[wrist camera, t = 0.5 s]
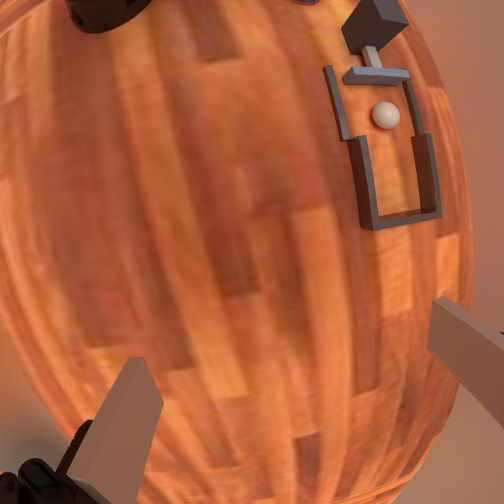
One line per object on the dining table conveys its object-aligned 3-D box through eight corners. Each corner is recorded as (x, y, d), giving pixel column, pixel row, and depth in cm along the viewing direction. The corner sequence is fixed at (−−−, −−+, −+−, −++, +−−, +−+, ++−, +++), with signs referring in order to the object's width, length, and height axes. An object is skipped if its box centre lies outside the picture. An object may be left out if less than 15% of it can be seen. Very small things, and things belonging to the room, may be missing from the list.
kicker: (326, 27, 30) (349, -13, 19) (377, 31, 30) (409, -1, 19) (344, 84, 32) (378, 53, 21) (396, 85, 32) (438, 62, 21)
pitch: (322, 68, 32) (331, 57, 28) (403, 71, 32) (416, 63, 28) (354, 227, 37) (366, 232, 33) (430, 213, 37) (446, 216, 33)
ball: (364, 105, 33) (376, 98, 29) (387, 105, 33) (401, 98, 29) (370, 131, 34) (384, 126, 30) (393, 131, 34) (408, 126, 30)
